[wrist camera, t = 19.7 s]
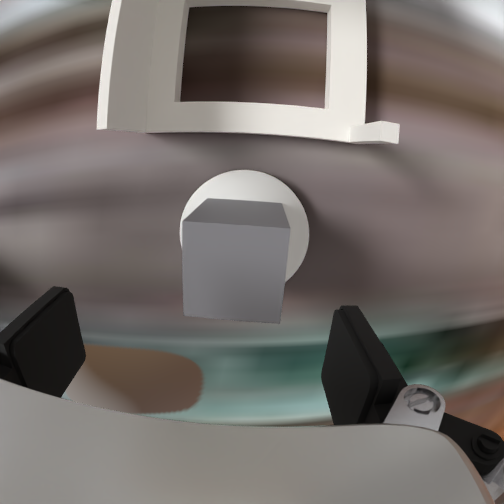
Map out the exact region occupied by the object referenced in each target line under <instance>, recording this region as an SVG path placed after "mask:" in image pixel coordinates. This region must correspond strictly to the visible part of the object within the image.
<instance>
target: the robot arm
mask: <svg viewBox="0 0 504 504" xmlns="http://www.w3.org/2000/svg"><path fill="white" fill-rule="evenodd" d="M85 357H86V354H85V349H84V345H83V341H82V336H81V332H80V328H79V323H78V318H77V313H76V308H75V303H74V297H73V294H72V293H71V292H70V291H69V289H67V288H62V287H52V288H51V289H50V290H49V291H47V292H46V293H45V294H44V295H43V296H41V297H40V298H39V299H38V300H37V301H35V302H34V303H33V304H32V305H31V306H30V307H28V308H27V309H26V310H25V311H24V312H23V313H22V314H20V315H19V316H18V317H17V318H16V319H15V320H14V321H13V322H11V323H10V324H9V325H8V326H7V327H6V328H5V329H4V330H3V331H2V332H0V504H504V441H503V440H502V438H501V437H500V436H499V435H498V434H497V433H495V432H493V431H491V430H488V429H486V428H483V427H480V426H478V425H475V424H472V423H470V422H467V421H465V420H462V419H460V418H457V417H455V416H452V415H450V414H447V413H445V412H444V410H445V401H444V398H443V397H442V395H441V394H440V393H439V392H438V391H436V390H435V389H433V388H431V387H429V386H425V385H421V384H414V385H409V386H408V385H407V384H406V382H405V380H404V379H403V377H402V375H401V373H400V372H399V370H398V368H397V367H396V365H395V363H394V362H393V360H392V359H391V357H390V355H389V354H388V352H387V350H386V349H385V347H384V345H383V344H382V343H381V342H380V341H379V339H378V337H377V336H376V334H375V333H374V331H373V329H372V328H371V326H370V325H369V323H368V321H367V320H366V318H365V317H364V315H363V313H362V312H361V310H360V309H359V307H358V306H341V307H340V309H339V310H335V311H334V315H333V320H332V325H331V330H330V335H329V340H328V345H327V350H326V354H325V359H324V364H323V368H322V373H321V379H322V384H323V387H324V391H325V394H326V398H327V401H328V405H329V408H330V412H331V415H332V419H333V423H334V425H327V426H296V427H261V426H234V425H218V424H205V423H194V422H184V421H175V420H168V419H160V418H153V417H147V416H140V415H135V414H129V413H123V412H118V411H113V410H108V409H104V408H99V407H95V406H90V405H86V404H82V403H78V402H74V401H70V400H67V399H63V398H61V397H62V395H63V393H64V392H65V390H66V389H67V387H68V386H69V384H70V383H71V381H72V379H73V378H74V376H75V375H76V373H77V372H78V370H79V369H80V367H81V366H82V364H83V363H84V361H85Z"/></svg>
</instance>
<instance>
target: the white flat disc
mask: <svg viewBox="0 0 504 504" xmlns="http://www.w3.org/2000/svg"><path fill="white" fill-rule="evenodd" d="M207 198H216V199H233V200H248V201H263V202H276V203H282V205H283V208H284V211H285V213H286V216H287V219H288V222H289V225H290V228H291V230H290V240H289V250H288V259H287V268H286V277H285V282H286V281H287V280H288V279H289V278H291V277H292V276H293V274H294V273H295V272H296V271H297V270H298V268H299V267H300V265H301V263H302V261H303V259H304V257H305V255H306V251H307V248H308V243H309V225H308V220H307V216H306V213H305V211H304V208H303V206H302V204H301V203H300V201H299V199H298V198H297V196H296V195H295V194H294V192H293V191H292V190H291V189H290V188H289V187H288V186H287V185H286V184H284V183H283V182H282V181H280V180H279V179H277V178H275V177H274V176H272V175H269V174H267V173H264V172H260V171H256V170H248V169H246V170H233V171H229V172H225V173H222V174H220V175H217V176H215V177H213V178H212V179H210V180H209V181H207V182H205V183H204V184H203V185H202V186H201V187H199V188H198V189H197V190H196V192H195V193H194V194H193V195H192V196H191V198H190V199H189V201H188V203H187V205H186V207H185V208H184V211H183V214H182V218H181V223H180V242H181V246H182V221H183V220H184V219H185V218H186V217H187V216H188V215H190V214H191V213H192V212H193V211H194V210H195V209H196V208H197V207H198V206H199V205H200V204H201V203H203V202H204V201H205V200H206V199H207Z"/></svg>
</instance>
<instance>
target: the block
mask: <svg viewBox="0 0 504 504" xmlns="http://www.w3.org/2000/svg"><path fill="white" fill-rule="evenodd" d="M290 230H291V228H290V225H289V222H288V219H287V216H286V213H285V211H284V208H283V205H282V203H276V202H263V201H248V200H233V199H216V198H207V199H206V200H205V201H204V202H203V203H201V204H200V205H199V206H198V207H197V208H196V209H195V210H194V211H193V212H192V213H191V214H190V215H188V216H187V217H186V218H185V219H184V220H183V221H182V276H183V313H184V316H191V317H201V318H211V319H222V320H234V321H247V322H262V323H277V324H280V320H281V312H282V303H283V295H284V286H285V277H286V268H287V259H288V250H289V240H290Z"/></svg>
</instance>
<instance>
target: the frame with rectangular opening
mask: <svg viewBox="0 0 504 504" xmlns="http://www.w3.org/2000/svg"><path fill="white" fill-rule="evenodd" d="M204 6H263V7H279V8H291V9H301V10H309V11H317V12H324V13H327V63H326V90H325V109H321V108H313V107H303V106H293V105H281V104H267V103H248V102H180V96H181V82H182V70H183V59H184V49H185V39H186V30H187V21H188V13H189V7H204ZM366 81H367V26H366V0H112V4H111V9H110V14H109V20H108V26H107V32H106V38H105V44H104V52H103V59H102V67H101V77H100V87H99V99H98V114H97V130H113V131H127V132H139V133H164V132H215V133H244V134H263V135H277V136H290V137H301V138H311V139H321V140H329V141H338V142H345V143H353V144H398V140H399V124H396V123H391V122H385V121H377V122H372V123H367V124H365V109H366Z"/></svg>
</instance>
